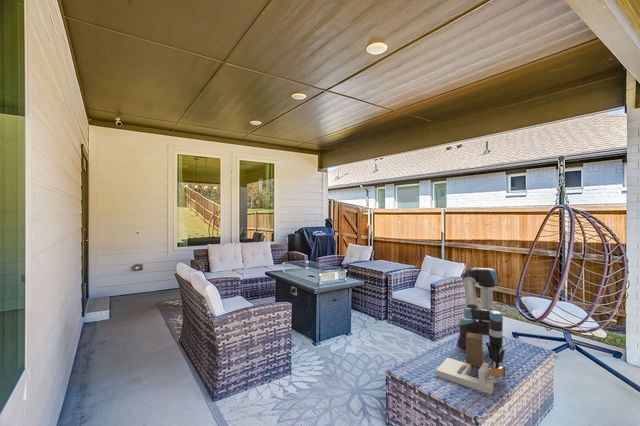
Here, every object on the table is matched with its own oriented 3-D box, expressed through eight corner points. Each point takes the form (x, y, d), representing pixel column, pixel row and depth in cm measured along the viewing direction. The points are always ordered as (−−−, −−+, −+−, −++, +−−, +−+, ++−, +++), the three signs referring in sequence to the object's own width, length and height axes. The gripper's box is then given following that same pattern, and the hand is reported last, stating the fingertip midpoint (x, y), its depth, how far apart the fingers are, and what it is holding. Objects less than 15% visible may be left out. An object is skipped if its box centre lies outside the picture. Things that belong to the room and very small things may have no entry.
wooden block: (467, 358, 228) (467, 331, 228) (482, 361, 223) (482, 334, 223) (466, 364, 220) (465, 336, 220) (481, 368, 215) (481, 339, 214)
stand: (447, 363, 222) (447, 347, 222) (499, 379, 201) (499, 361, 201) (436, 375, 206) (436, 358, 206) (491, 394, 184) (491, 375, 184)
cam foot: (483, 386, 193) (483, 372, 192) (474, 377, 202) (474, 364, 202) (510, 384, 195) (510, 370, 194) (499, 375, 204) (499, 362, 204)
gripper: (483, 332, 205) (482, 367, 206) (501, 340, 193) (500, 377, 194) (490, 330, 208) (490, 365, 209) (509, 338, 196) (508, 374, 197)
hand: (495, 371), depth 201 cm, fingers closed
